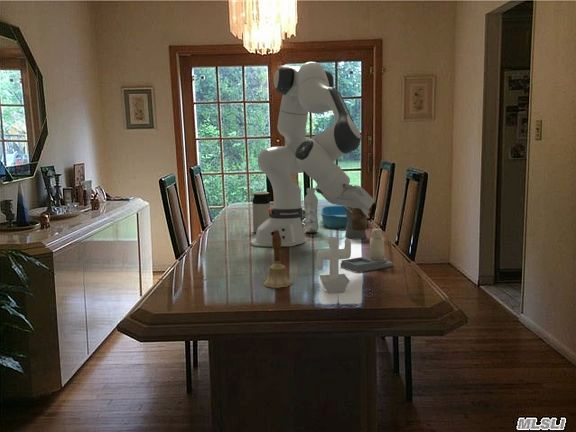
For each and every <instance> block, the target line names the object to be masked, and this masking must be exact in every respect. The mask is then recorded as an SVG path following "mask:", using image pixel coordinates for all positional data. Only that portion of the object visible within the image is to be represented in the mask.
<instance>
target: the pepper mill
mask: <svg viewBox="0 0 576 432" xmlns="http://www.w3.org/2000/svg"><path fill="white" fill-rule="evenodd" d="M367 218H368V215H363V214H362V213H361V209H359V208H354V207H352V230H357V231H361V230H365V231H366V230H367V229H368V227H367V226H368V225H367V224H368V220H367Z"/></svg>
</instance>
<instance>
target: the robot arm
mask: <svg viewBox="0 0 576 432" xmlns="http://www.w3.org/2000/svg"><path fill="white" fill-rule="evenodd" d="M273 75H274V77H273V87H274V90H275V91H276V92H277V94H280V95H282V98H281V101H280V105H279V106H280V107H279V114H278V121H277V131H278V132H279V134H280V135H281V136H282V137H284V145H283V146H282V145H281V146H271V147H267V148H264V149H261V151H259V153H258V156H257V165H258V168H259V169H260V171H261V172H262V173H263V174H265V175H266V177H267V178H268V180H269V182H270V185H271V187H272V192H273V194H272V195H273V208H271V207H270V208H269V209H268V213H269V217H270V218H269V219H267V220H266V221H265V222H264V223H262V224H261V225H260V226H259V227H258V229H257V232H255V237H253V238H252V239H251V240H250V244H251V246H254V247H273V245H272V237H273V234H274V230H278V231H279V234H280V237H281V247H293V246H296V245H301V244H305V243H306V242H307V240H306V237H305V233H304V227H303V219H304V211H303V207H302V190H301V187H300V185H298V184H297V183H295V182H294V181H293V179H292V176H291V174H298V173H299V174H300V173H305V174H306V175H307V176H308V178H310V179H311V180H313V181H314V182H315V183H316V186H315V187H314V188H315V192H317V194H320V195H321V196H322V197H323V198H324V199H325V200H326V201H327V202H328V203H330V204H331V205H334V206H336V205H341V206H344V207H345V208H347V209H348V210H350V211H351V212H352V207H354V208H359V209H361V213H362V214H363V215H367V216H368V215H369V214H370V210H369V209H371V208H372V204H373V203H375V201H374V198H373V197H372V196H371V195H370V194H369V193H368V192H367V191H366V190H365V188H363V187H361V186H359V185H356V184H350V182H351V177H350V176H348V174H346V172H345V171H344V170H343V168H341V167H340V166H339V165H338V164H336V163H335V162H334V161H336V160H337V159H339V158H342V156H344V155H347V154H349V153H352V152H353V151H357V150H358V148H359V147H360V144H361V140H362V135H361V132H360V130H359V128H358V127H357V125H356V123H355V121H354V120H353V118H352V115H351V113H350V110H349V108H348V107H347V104H346V102H345V100H344V98H343V97H342V95H341V93H340V92H339V90H337V89H336V88H335V87H334V84H335V83H334V76H333V74H332V72H330V71H328V70H327V69H324V67H323V66H322V65H321V64H320V63H318V62H316V61H307V62H305V63H304V64H302V65H301V66H300V65H299V66H298V65H291V66H290V65H289V64H285V65H284V64H283V65H280V66H279V67H277V69H276V71H275V73H274V74H273ZM330 111H332V113H333V116H334V119H335V120H334V123H333V124H332V125H330V126H329V127H327V128H326V129H324V130H322V131H321V132H319V133H317V134H316V135H314V136H312V137H311V138H307V137H306V131H307V121H308V116H309V113H311V114H315V115H316V114H323V113H327V112H330Z"/></svg>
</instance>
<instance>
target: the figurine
mask: <svg viewBox="0 0 576 432" xmlns="http://www.w3.org/2000/svg"><path fill="white" fill-rule="evenodd" d="M339 238H340V237H337V236H332V237H328V240H327V241H328V243H327V244H328V249H319V250H317V252H316V269H317V270H319V271H322V270H323V268H324V267H323V266H324V265H323V264H324V261H328V260H329V262H328V263H329V264H328V265H329V266H328V267H329V272H328V274H319V275H318V277H319V278H320V281H321V283H322V286H323V288H324V290H325V289H326V290H325V291H326V293H327V294H342V293H344V292H345V291H346V289H347V287H348V285H349V284H350V281H351V280H350V279H349V278H348V276H347V275H346V274H345V273H339V266H340V265H339V260H347V259H351V255H352V239H348V238H345V239H344V248H339V245H340V239H339Z"/></svg>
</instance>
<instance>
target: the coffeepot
mask: <svg viewBox="0 0 576 432" xmlns="http://www.w3.org/2000/svg"><path fill="white" fill-rule="evenodd" d="M343 207H344V206H343ZM344 209H345V211H346V215H347V218H348V222H347V226H346V228H345V234H344V237H345V239H347V238H348V239H350V240H361V239H362V240H364V239H366V238H367V233H366V230H361V231H357V230H352V212H351V211H350V210H348V209H347V208H345V207H344ZM376 209H377V204H376V203H375V202H374V203H373V204H372V206H371V208H370V212H369V217H367V221H372V220H373V217H374V214H375V212H376Z"/></svg>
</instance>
